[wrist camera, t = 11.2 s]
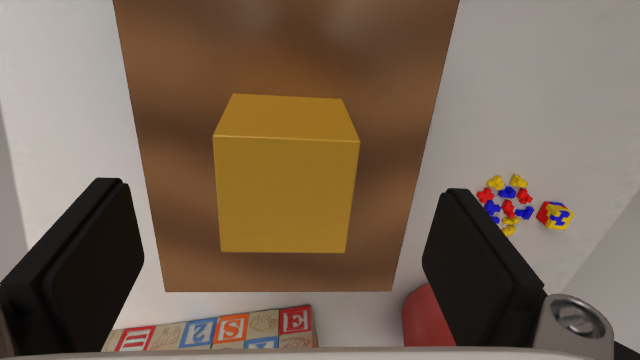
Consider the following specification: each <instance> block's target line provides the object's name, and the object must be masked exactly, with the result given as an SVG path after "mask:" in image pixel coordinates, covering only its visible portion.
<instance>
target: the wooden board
mask: <svg viewBox="0 0 640 360" xmlns="http://www.w3.org/2000/svg"><path fill="white" fill-rule="evenodd" d="M458 4H459V0H113V5H114V10H115V16H116V22H117V27H118V33H119V38H120V44H121V49H122V55H123V60H124V66H125V71H126V77H127V82H128V88H129V93H130V99H131V105H132V110H133V116H134V121H135V127H136V132H137V138H138V143H139V149H140V154H141V160H142V165H143V171H144V176H145V182H146V188H147V193H148V199H149V204H150V210H151V215H152V221H153V226H154V232H155V237H156V243H157V248H158V254H159V259H160V265H161V271H162V276H163V282H164V287H165V292H356V291H391V289H392V285H393V281H394V277H395V272H396V268H397V264H398V259H399V255H400V251H401V247H402V242H403V238H404V234H405V230H406V225H407V221H408V217H409V213H410V208H411V204H412V200H413V196H414V191H415V187H416V183H417V179H418V174H419V170H420V166H421V162H422V157H423V153H424V149H425V145H426V140H427V136H428V132H429V128H430V123H431V119H432V115H433V111H434V106H435V102H436V98H437V94H438V89H439V85H440V81H441V77H442V72H443V68H444V64H445V60H446V55H447V51H448V47H449V43H450V38H451V34H452V30H453V26H454V21H455V17H456V13H457V9H458ZM234 93H236V94H255V95H274V96H293V97H312V98H331V99H342V101H343V103H344V105H345V107H346V110H347V112H348V114H349V117H350V119H351V121H352V123H353V126H354V128H355V130H356V133H357V135H358V137H359V139H360V142H361V143H360V150H359V157H358V164H357V171H356V179H355V186H354V193H353V200H352V207H351V214H350V221H349V228H348V235H347V243H346V250H345V253H268V252H221V247H220V233H219V219H218V205H217V192H216V178H215V164H214V150H213V137H212V136H213V134H214V132H215V130H216V128H217V126H218V123H219V121H220V119H221V117H222V115H223V113H224V111H225V109H226V107H227V105H228V103H229V100H230V98H231V96H232V94H234Z"/></svg>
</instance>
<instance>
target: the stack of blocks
mask: <svg viewBox="0 0 640 360" xmlns="http://www.w3.org/2000/svg"><path fill="white" fill-rule="evenodd" d="M257 348H319V346H318V340H317V334H316V329H315V322H314V317H313V312H312V308H311V306H302V307H295V308H288V309H282V310H279V309H275V310H267V311H260V312H253V313H250V314H248V313H246V314H238V315H229V316H222V317H219V318H211V319H203V320H196V321H189V322H182V323H175V324H167V325H159V326H147V327H139V328H131V329H125V330H114V331H111V332H110V334H109V336H108V338H107V340H106V342H105V344H104V346H103V348H102V350H101V352H115V351H153V350H202V349H257Z"/></svg>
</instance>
